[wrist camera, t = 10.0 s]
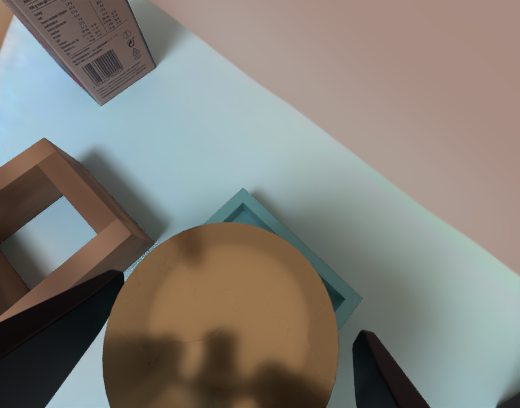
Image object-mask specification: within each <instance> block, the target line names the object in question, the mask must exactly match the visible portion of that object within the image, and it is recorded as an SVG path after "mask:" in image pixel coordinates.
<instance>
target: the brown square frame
mask: <svg viewBox="0 0 520 408" xmlns="http://www.w3.org/2000/svg"><path fill="white" fill-rule="evenodd" d="M63 195H64V196H65V197H66V198H67V200H68V201H69V202H70V203H71V204H72V205H73V206H74V208H75V209H76V210H77V211H78V212H79V213H80V215H81V216H82V217H83V218H84V219H85V220H86V221H87V223H88V224H89V225H90V226H91V227H92V228H93V229H94V231H95V232H96V233H97V234H98V235H97V236H95V237H94V238H93V239H92V240H91V241H90V242H88V243H87V244H86V245H85V246H84V247H82V248H81V249H80V250H79V251H78V252H76V253H75V254H74V255H73V256H72V257H70V258H69V259H68V260H67V261H66V262H64V263H63V264H62V265H61V266H60V267H58V268H57V269H56V270H55V271H54V272H52V273H51V274H50V275H49V276H48V277H46V278H45V279H44V280H43V281H42V282H40V283H39V284H38V285H37V286H36V287H34V288H33V289H32V290H31V291H30V290H29V288H28V287H27V286H26V284H25V283H24V282H23V280H22V279H21V278H20V276H19V275H18V274H17V272H16V271H15V270H14V268H13V267H12V266H11V264H10V263H9V262H8V260H7V259H6V258H5V256H4V255H3V254H2V252H1V251H0V322H1V321H3V320H5V319H7V318H9V317H11V316H13V315H16V314H18V313H20V312H22V311H24V310H26V309H28V308H30V307H32V306H34V305H36V304H39V303H41V302H43V301H45V300H47V299H49V298H51V297H53V296H55V295H57V294H59V293H62V292H64V291H66V290H68V289H70V288H72V287H74V286H76V285H78V284H80V283H82V282H85V281H87V280H89V279H91V278H93V277H95V276H97V275H99V274H101V273H103V272H105V271H108V270H110V269H116V270H120V271H123V272H124V271H125V270H126V269H127V268H128V267H129V266H130V265H131V264H133V263H134V262H135V261H136V260H137V259H138V258H139V257H140V256H141V255H143V254H144V253H145V252H146V251H147V250H148V249H149V248H150V247H151V246H152V245H154V242H153V241H152V240H151V239H150V238H149V237H148V236H147V235H146V234H145V233H144V232H143V231H142V229H141V228H140V227H139V226H138V225H137V224H136V223H135V222H134V221H133V220H132V219H131V217H130V216H129V215H128V214H127V213H126V212H125V211H124V210H123V209H122V208H121V207H120V206H119V204H118V203H117V202H116V201H115V200H114V199H113V198H112V197H111V196H110V195H109V194H108V193H107V191H106V190H105V189H104V188H103V187H102V186H101V185H100V184H99V183H98V182H97V181H96V180H95V178H94V177H93V176H92V175H91V174H90V173H89V172H88V171H87V170H86V169H85V168H84V166H83V165H82V164H81V163H80V162H78V161H77V160H75V159H74V158H73V157H71V156H70V155H68V154H67V153H65V152H64V151H63V150H61V149H60V148H58V147H57V146H56V145H54V144H53V143H51V142H50V141H49V140H47V139H46V138H42V139H41V140H40V141H38V142H37V143H35V144H34V145H32V146H31V147H29V148H28V149H26V150H25V151H23V152H22V153H21V154H19V155H18V156H16V157H15V158H13V159H12V160H10V161H9V162H7V163H6V164H4V165H3V166H2V167H0V243H1V242H2V241H4V240H5V239H6V238H7V237H9V236H10V235H11V234H13V233H14V232H15V231H17V230H18V229H19V228H21V227H22V226H23V225H25V224H26V223H27V222H28V221H30V220H31V219H32V218H34V217H35V216H36V215H38V214H39V213H40V212H42V211H43V210H44V209H46V208H47V207H48V206H49V205H51V204H52V203H53V202H55V201H56V200H57V199H59V198H60V197H61V196H63Z"/></svg>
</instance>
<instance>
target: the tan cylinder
mask: <svg viewBox="0 0 520 408" xmlns="http://www.w3.org/2000/svg"><path fill="white" fill-rule="evenodd" d="M338 352H339V343H338V329H337V323H336V317H335V313H334V309H333V306H332V303H331V299H330V297H329V295H328V292H327V290H326V288H325V285H324V284H323V282H322V280H321V278H320V277H319V275H318V273H317V272H316V270H315V269H314V268H313V266H312V265H311V264H310V262H309V261H308V260H307V259H306V258H305V257H304V256H303V255H302V254H301V253H300V252H299V251H298V250H297V249H296V248H295V247H294V246H292V245H291V244H290V243H289V242H287V241H286V240H284V239H282V238H281V237H279V236H278V235H276V234H274V233H272V232H269V231H267V230H265V229H262V228H259V227H256V226H253V225H248V224H242V223H232V222H220V223H210V224H205V225H201V226H197V227H194V228H191V229H188V230H185V231H183V232H181V233H179V234H177V235H175V236H173V237H171V238H169V239H168V240H166V241H165V242H163V243H162V244H160V245H159V246H157V247H156V248H155V249H154V250H153V251H151V252H150V253H149V254H148V255H147V256H146V257H145V258H144V259H143V260H142V261H141V262H140V263H139V264H138V265H137V266H136V268H135V269H134V270H133V272H132V273H131V274H130V276H129V277H128V278H127V280H126V282H125V283H124V285H123V287H122V288H121V290H120V292H119V294H118V296H117V298H116V301H115V303H114V305H113V307H112V310H111V313H110V316H109V320H108V323H107V327H106V332H105V337H104V344H103V357H102V361H103V378H104V384H105V390H106V395H107V398H108V402H109V405H110V408H326V406H327V404H328V401H329V399H330V396H331V392H332V389H333V386H334V382H335V377H336V372H337V366H338Z"/></svg>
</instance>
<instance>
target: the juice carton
mask: <svg viewBox="0 0 520 408" xmlns="http://www.w3.org/2000/svg"><path fill="white" fill-rule="evenodd" d="M2 1H3V2H4V3H5V4H6V6H7V7H8V8H9V9H10V10H11V11H12V12H13V14H14V15H15V16H16V17H17V18H18V19H19V20H20V22H21V23H22V24H23V25H24V26H25V27H26V28H27V29H28V31H29V32H30V33H31V34H32V35H33V36H34V37H35V39H36V40H37V41H38V42H39V43H40V44H41V45H42V47H43V48H44V49H45V50H46V51H47V52H48V53H49V55H50V56H51V57H52V58H53V59H54V60H55V61H56V63H57V64H58V65H59V66H60V67H61V68H62V69H63V70H64V71H65V72H66V73H67V74H68V75H69V76H70V77H71V78H72V79H73V80H74V81H75V82H77V83H78V84H79V85H80V86H81V87H82V88H83V89H84V90H85V91H86V92H87V93H88V94H89V95H90V96H91V97H92V98H93V99H94V100H95V101H96V102H97V103H98V104H99V105H100V106H102V105H103V104H105V103H106V102H108V101H109V100H111V99H112V98H113V97H115V96H116V95H118V94H119V93H120V92H122V91H123V90H125V89H126V88H128V87H129V86H130V85H132V84H133V83H135V82H136V81H138V80H139V79H140V78H142V77H143V76H145V75H146V74H147V73H149V72H150V71H152V70H153V69H155V68H156V65H155V63H154V60H153V58H152V56H151V53H150V51H149V49H148V46H147V44H146V42H145V40H144V37H143V35H142V33H141V30H140V28H139V26H138V24H137V21H136V19H135V17H134V14H133V12H132V10H131V7H130V5H129V3H128V1H127V0H2Z"/></svg>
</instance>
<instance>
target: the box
mask: <svg viewBox="0 0 520 408" xmlns="http://www.w3.org/2000/svg"><path fill="white" fill-rule="evenodd" d="M498 408H520V393H519V394H518V395H516V396H514V397H513V398H511V399H510V400H508V401H506V402H505V403H503V404H502V405H500V406H499V407H498Z"/></svg>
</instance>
